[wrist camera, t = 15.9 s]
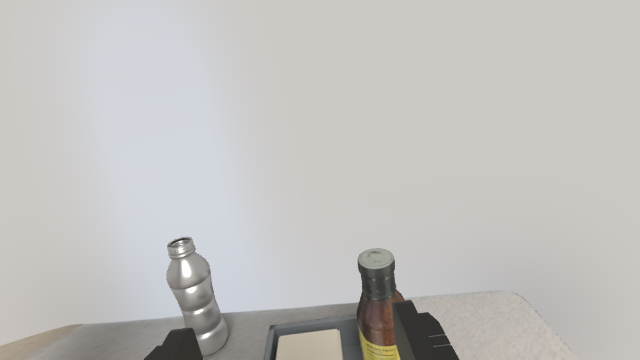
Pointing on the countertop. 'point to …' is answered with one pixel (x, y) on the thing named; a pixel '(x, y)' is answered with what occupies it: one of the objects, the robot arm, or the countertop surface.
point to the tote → (344, 324)
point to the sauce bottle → (377, 305)
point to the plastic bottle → (196, 295)
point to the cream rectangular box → (311, 346)
